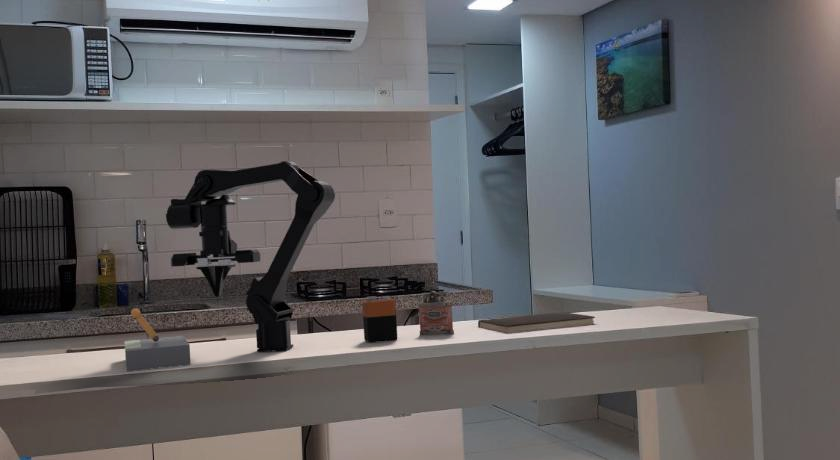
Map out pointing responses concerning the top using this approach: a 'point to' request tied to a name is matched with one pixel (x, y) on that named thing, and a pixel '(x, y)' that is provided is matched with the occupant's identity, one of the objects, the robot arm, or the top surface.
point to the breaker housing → (156, 353)
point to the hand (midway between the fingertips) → (218, 296)
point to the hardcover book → (535, 322)
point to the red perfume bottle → (435, 314)
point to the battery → (379, 319)
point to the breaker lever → (144, 324)
